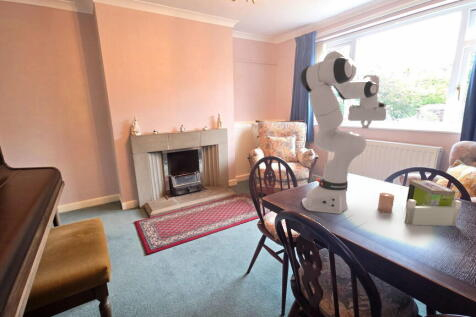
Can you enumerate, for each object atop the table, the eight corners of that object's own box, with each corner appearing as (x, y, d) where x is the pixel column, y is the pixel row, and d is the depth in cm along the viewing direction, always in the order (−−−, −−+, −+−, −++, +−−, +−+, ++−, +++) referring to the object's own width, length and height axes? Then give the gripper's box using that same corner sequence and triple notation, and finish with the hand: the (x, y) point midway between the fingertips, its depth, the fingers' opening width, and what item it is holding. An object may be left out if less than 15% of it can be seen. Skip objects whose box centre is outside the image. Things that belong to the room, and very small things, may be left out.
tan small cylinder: (381, 212, 110) (383, 197, 108) (375, 207, 116) (377, 192, 114) (394, 213, 110) (397, 197, 108) (387, 207, 116) (389, 192, 114)
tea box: (449, 222, 101) (457, 190, 97) (426, 221, 102) (432, 190, 98) (425, 207, 116) (430, 179, 112) (404, 206, 116) (409, 179, 113)
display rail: (407, 224, 99) (411, 201, 97) (404, 222, 101) (408, 199, 99) (456, 225, 98) (461, 202, 95) (452, 223, 100) (457, 200, 97)
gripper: (351, 104, 130) (349, 129, 133) (389, 104, 128) (385, 128, 131) (347, 104, 136) (345, 127, 139) (383, 104, 134) (379, 127, 138)
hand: (365, 128), depth 135 cm, fingers closed
